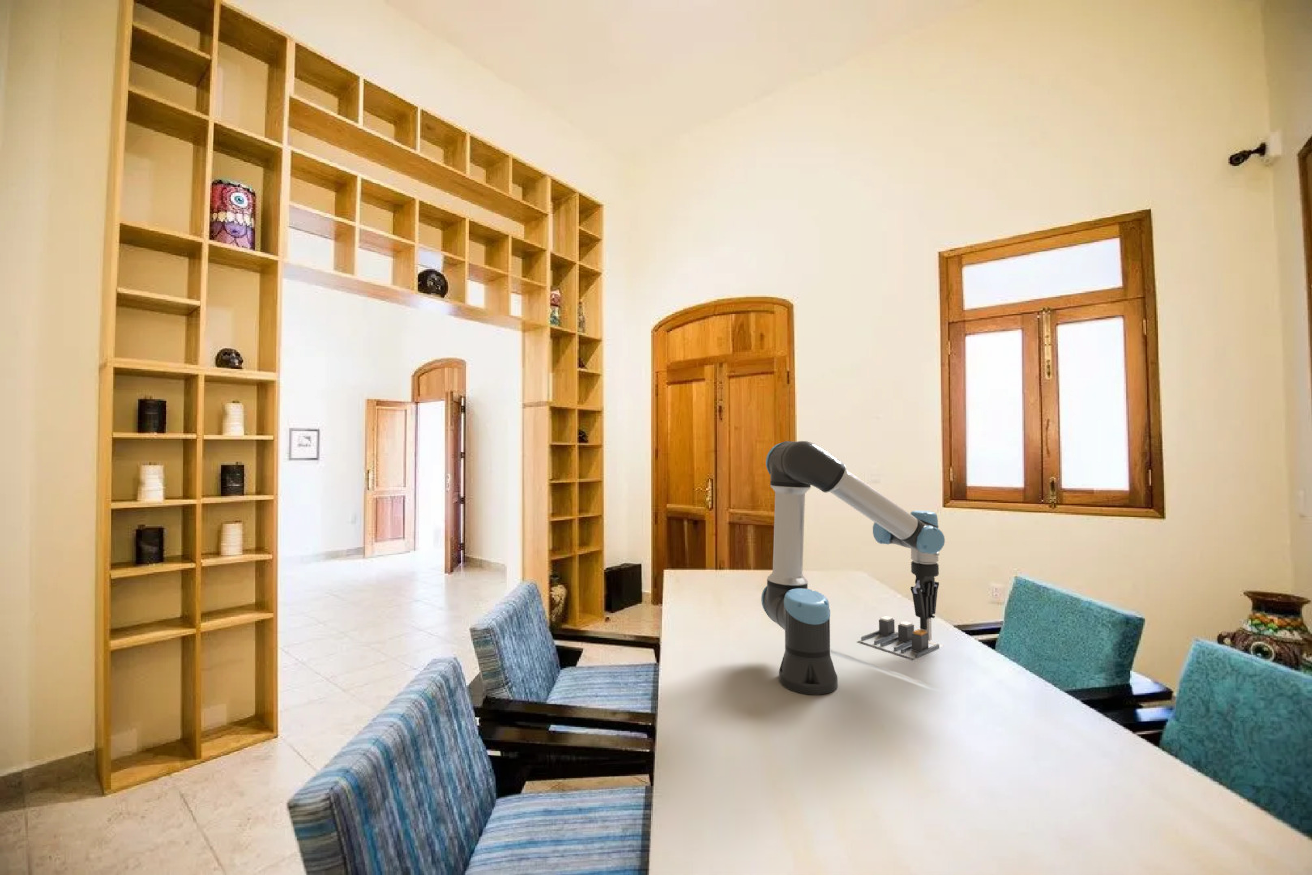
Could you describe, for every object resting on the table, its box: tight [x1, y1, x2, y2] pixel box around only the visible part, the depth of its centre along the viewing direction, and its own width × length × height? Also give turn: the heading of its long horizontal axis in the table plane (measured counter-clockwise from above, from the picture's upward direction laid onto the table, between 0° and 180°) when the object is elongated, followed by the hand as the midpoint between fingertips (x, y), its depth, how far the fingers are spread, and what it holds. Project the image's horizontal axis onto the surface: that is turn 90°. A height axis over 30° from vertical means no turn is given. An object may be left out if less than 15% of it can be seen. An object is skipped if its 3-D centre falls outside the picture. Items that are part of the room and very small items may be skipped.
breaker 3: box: [911, 628, 929, 653], centre depth 159 cm, size 4×3×6 cm
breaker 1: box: [878, 615, 896, 637], centre depth 172 cm, size 4×3×6 cm
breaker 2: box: [897, 620, 915, 644], centre depth 166 cm, size 4×3×6 cm
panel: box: [856, 629, 944, 661], centre depth 164 cm, size 26×20×2 cm
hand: (925, 638), depth 161 cm, fingers closed
